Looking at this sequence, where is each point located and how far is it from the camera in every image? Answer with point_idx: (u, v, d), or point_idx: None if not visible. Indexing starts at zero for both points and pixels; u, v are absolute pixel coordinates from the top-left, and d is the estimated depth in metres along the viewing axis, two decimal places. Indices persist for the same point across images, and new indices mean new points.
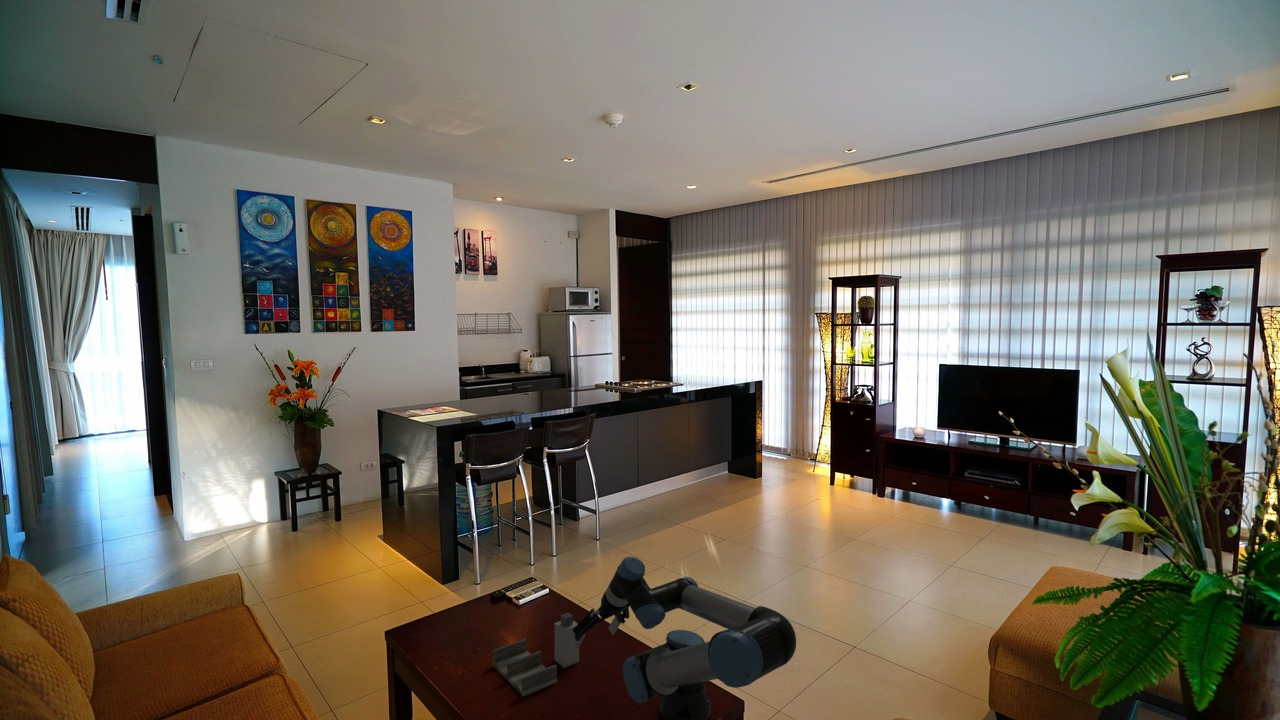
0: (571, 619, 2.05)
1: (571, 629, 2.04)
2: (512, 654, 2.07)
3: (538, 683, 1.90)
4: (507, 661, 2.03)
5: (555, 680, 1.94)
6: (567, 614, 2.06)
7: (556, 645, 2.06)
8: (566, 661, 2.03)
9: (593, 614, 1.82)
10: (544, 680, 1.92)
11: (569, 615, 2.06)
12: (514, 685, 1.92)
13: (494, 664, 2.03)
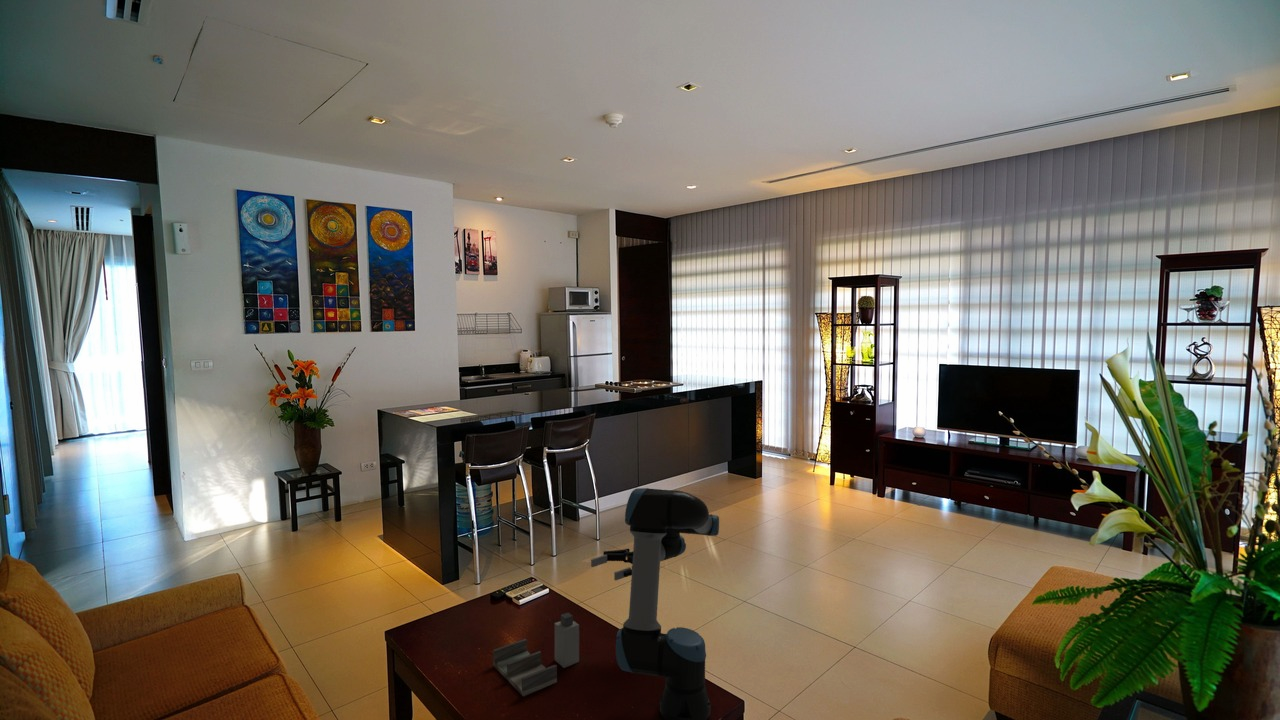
0: (571, 619, 2.05)
1: (571, 629, 2.04)
2: (512, 654, 2.07)
3: (538, 683, 1.90)
4: (507, 661, 2.03)
5: (555, 680, 1.94)
6: (567, 614, 2.06)
7: (556, 645, 2.06)
8: (566, 661, 2.03)
9: None
10: (544, 680, 1.92)
11: (569, 615, 2.06)
12: (514, 685, 1.92)
13: (494, 664, 2.03)
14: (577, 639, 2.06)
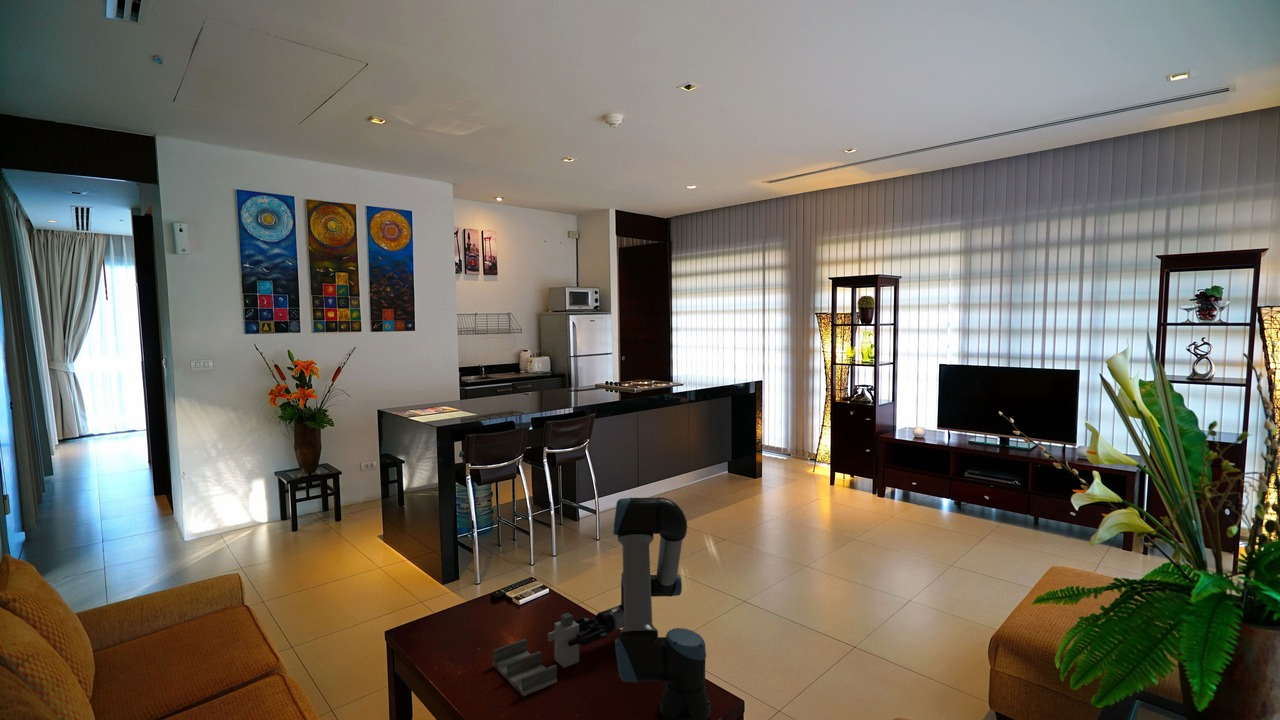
0: (571, 619, 2.05)
1: (571, 629, 2.04)
2: (512, 654, 2.07)
3: (538, 683, 1.90)
4: (507, 661, 2.03)
5: (555, 680, 1.94)
6: (567, 614, 2.06)
7: (556, 645, 2.06)
8: (566, 661, 2.03)
9: None
10: (544, 680, 1.92)
11: (569, 615, 2.06)
12: (514, 685, 1.92)
13: (494, 664, 2.03)
14: None
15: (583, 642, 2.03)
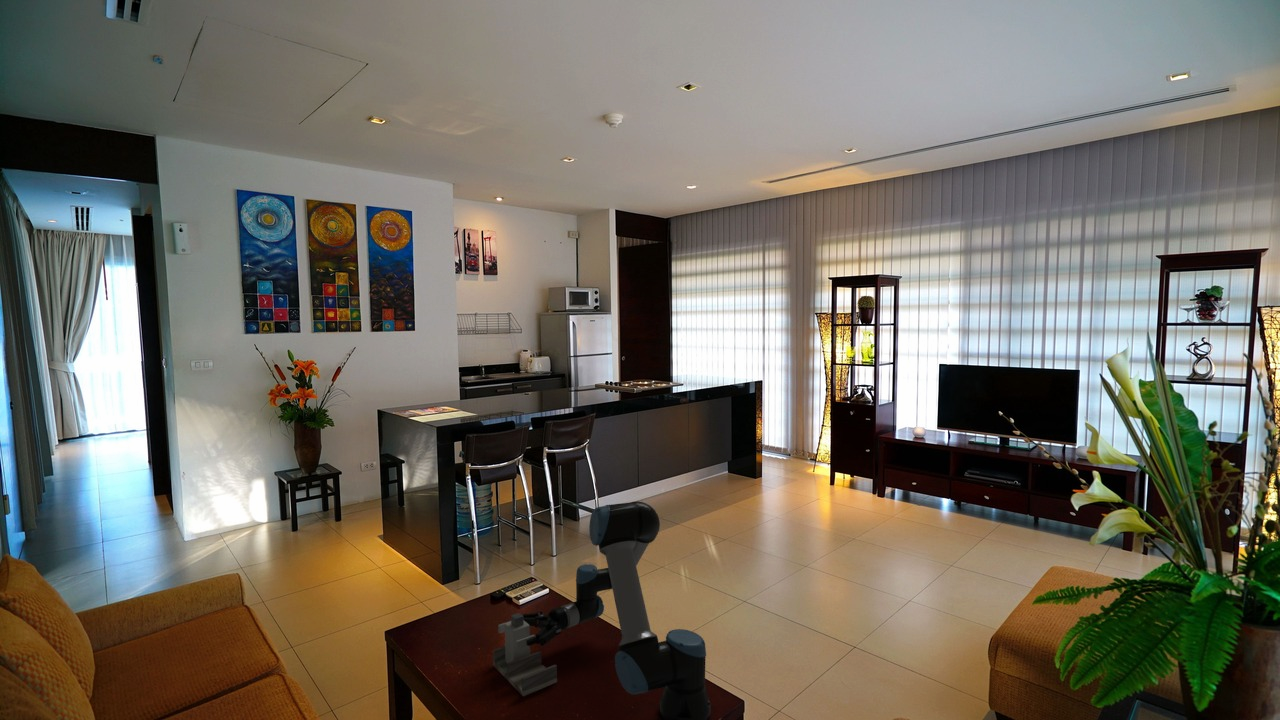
0: (521, 619, 2.01)
1: (521, 629, 2.00)
2: None
3: (538, 683, 1.90)
4: None
5: (555, 680, 1.94)
6: (518, 614, 2.02)
7: (506, 646, 2.02)
8: None
9: None
10: (544, 680, 1.92)
11: (520, 615, 2.02)
12: (514, 685, 1.92)
13: (494, 664, 2.03)
14: None
15: (542, 641, 1.97)
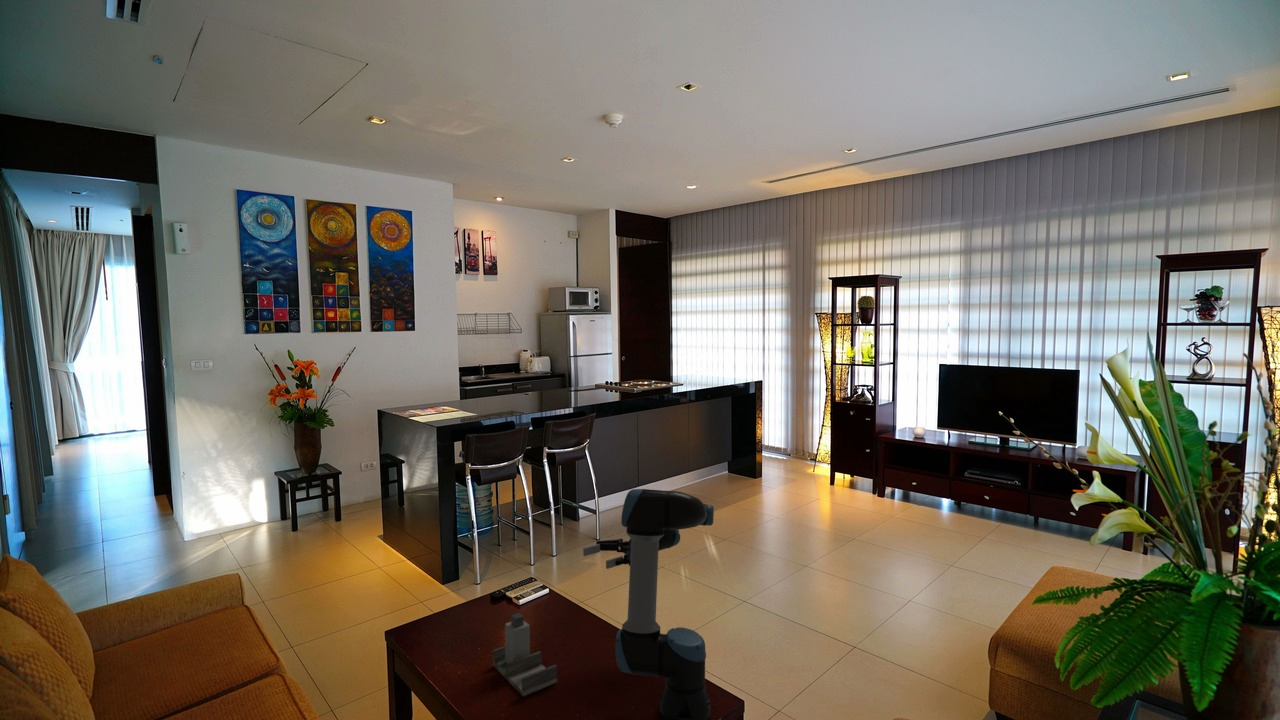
0: (521, 619, 2.01)
1: (521, 629, 2.00)
2: None
3: (538, 683, 1.90)
4: None
5: (555, 680, 1.94)
6: (518, 614, 2.02)
7: (506, 646, 2.02)
8: None
9: None
10: (544, 680, 1.92)
11: (520, 615, 2.02)
12: (514, 685, 1.92)
13: (494, 664, 2.03)
14: (528, 640, 2.01)
15: None
